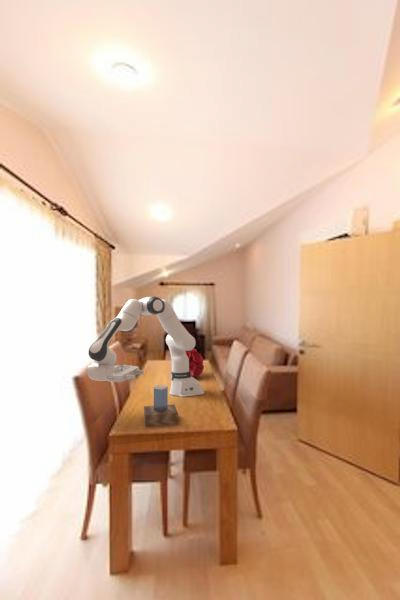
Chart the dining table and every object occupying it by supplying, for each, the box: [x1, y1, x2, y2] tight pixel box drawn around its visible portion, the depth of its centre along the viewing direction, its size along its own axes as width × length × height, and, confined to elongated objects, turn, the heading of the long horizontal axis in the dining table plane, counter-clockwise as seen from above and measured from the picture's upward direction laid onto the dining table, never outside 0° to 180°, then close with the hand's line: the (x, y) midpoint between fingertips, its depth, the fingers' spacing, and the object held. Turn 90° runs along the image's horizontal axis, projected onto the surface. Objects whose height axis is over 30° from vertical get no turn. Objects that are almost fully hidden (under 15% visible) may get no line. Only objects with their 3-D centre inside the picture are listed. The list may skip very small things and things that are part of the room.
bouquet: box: [185, 348, 205, 378], centre depth 276 cm, size 22×24×30 cm
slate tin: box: [153, 384, 169, 412], centre depth 182 cm, size 5×5×12 cm
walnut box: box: [143, 403, 179, 428], centre depth 182 cm, size 16×14×6 cm
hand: (139, 374), depth 186 cm, fingers open, 8 cm apart
